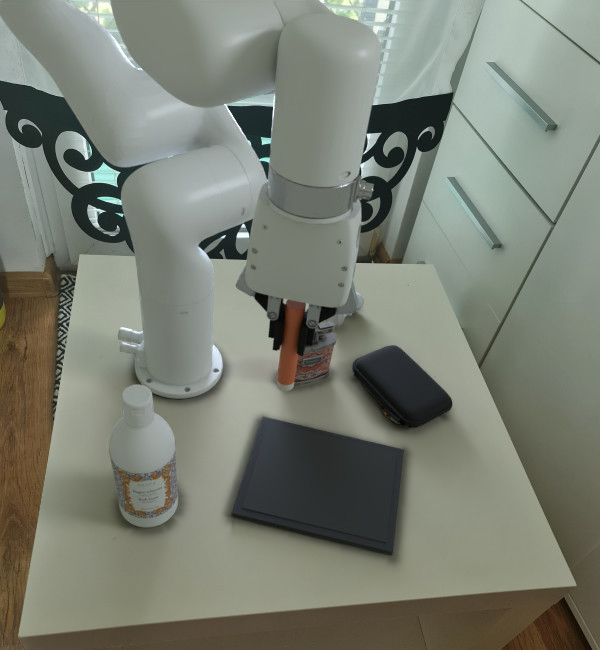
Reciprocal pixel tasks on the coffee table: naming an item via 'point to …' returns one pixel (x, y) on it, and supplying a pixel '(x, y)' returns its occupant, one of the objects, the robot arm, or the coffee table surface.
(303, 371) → the lighter
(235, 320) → the coffee table surface
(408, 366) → the carrying case
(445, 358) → the coffee table surface
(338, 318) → the pale two-lobed sculpture
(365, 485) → the tablet
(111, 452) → the bath foam
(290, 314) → the orange cylindrical rod
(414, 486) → the coffee table surface
